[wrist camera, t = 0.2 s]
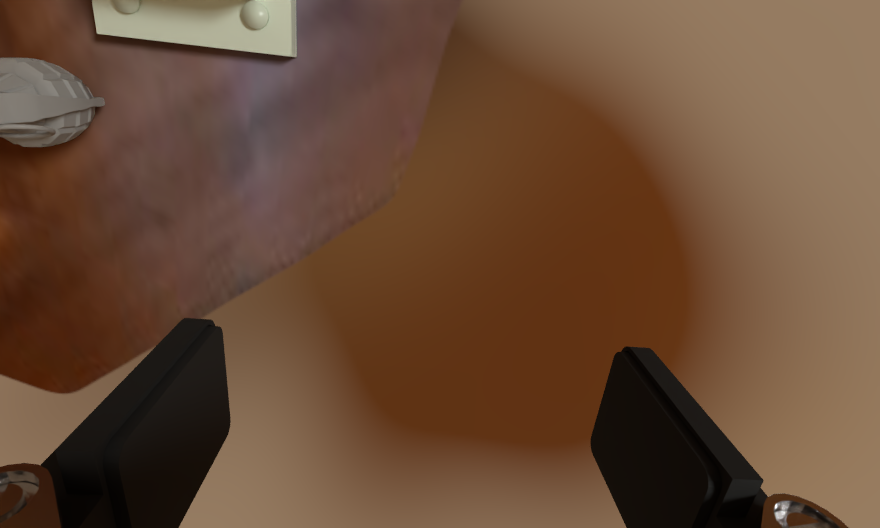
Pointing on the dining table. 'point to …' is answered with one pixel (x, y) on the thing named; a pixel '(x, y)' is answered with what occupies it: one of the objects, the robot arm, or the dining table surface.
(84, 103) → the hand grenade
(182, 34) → the base plate
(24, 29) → the dining table surface
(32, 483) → the robot arm
